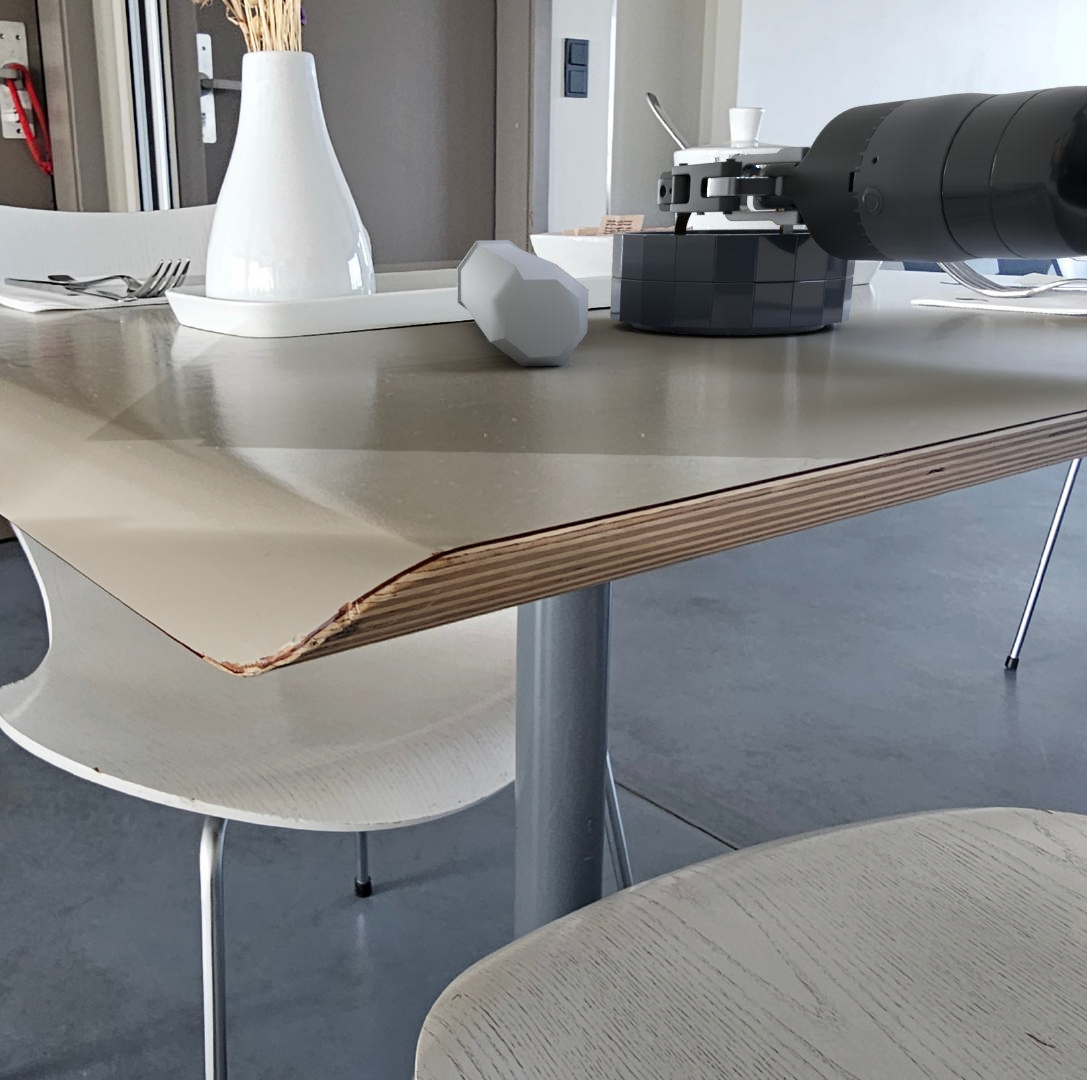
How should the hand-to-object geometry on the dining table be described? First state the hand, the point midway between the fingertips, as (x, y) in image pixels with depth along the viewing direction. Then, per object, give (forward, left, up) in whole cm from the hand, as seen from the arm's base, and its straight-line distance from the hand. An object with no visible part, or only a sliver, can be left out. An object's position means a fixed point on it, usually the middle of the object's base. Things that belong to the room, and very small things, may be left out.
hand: (711, 191), depth 71 cm
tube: (+15, +3, -8) cm, 17 cm away
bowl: (0, +2, -8) cm, 8 cm away
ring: (0, +2, -6) cm, 7 cm away
